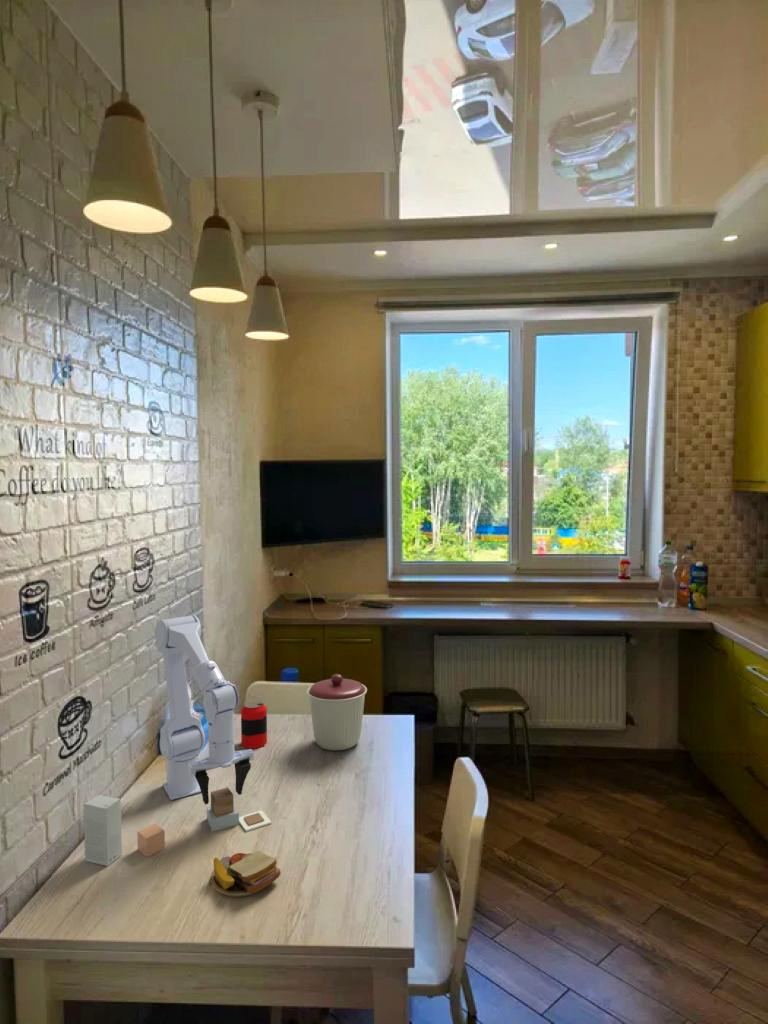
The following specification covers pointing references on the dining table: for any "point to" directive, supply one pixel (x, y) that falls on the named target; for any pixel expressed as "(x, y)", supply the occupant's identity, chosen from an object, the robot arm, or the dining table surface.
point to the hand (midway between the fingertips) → (222, 797)
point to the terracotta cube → (151, 839)
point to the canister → (337, 712)
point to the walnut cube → (222, 802)
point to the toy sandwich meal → (244, 873)
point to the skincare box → (102, 830)
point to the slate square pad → (222, 819)
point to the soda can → (253, 725)
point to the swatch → (254, 820)
